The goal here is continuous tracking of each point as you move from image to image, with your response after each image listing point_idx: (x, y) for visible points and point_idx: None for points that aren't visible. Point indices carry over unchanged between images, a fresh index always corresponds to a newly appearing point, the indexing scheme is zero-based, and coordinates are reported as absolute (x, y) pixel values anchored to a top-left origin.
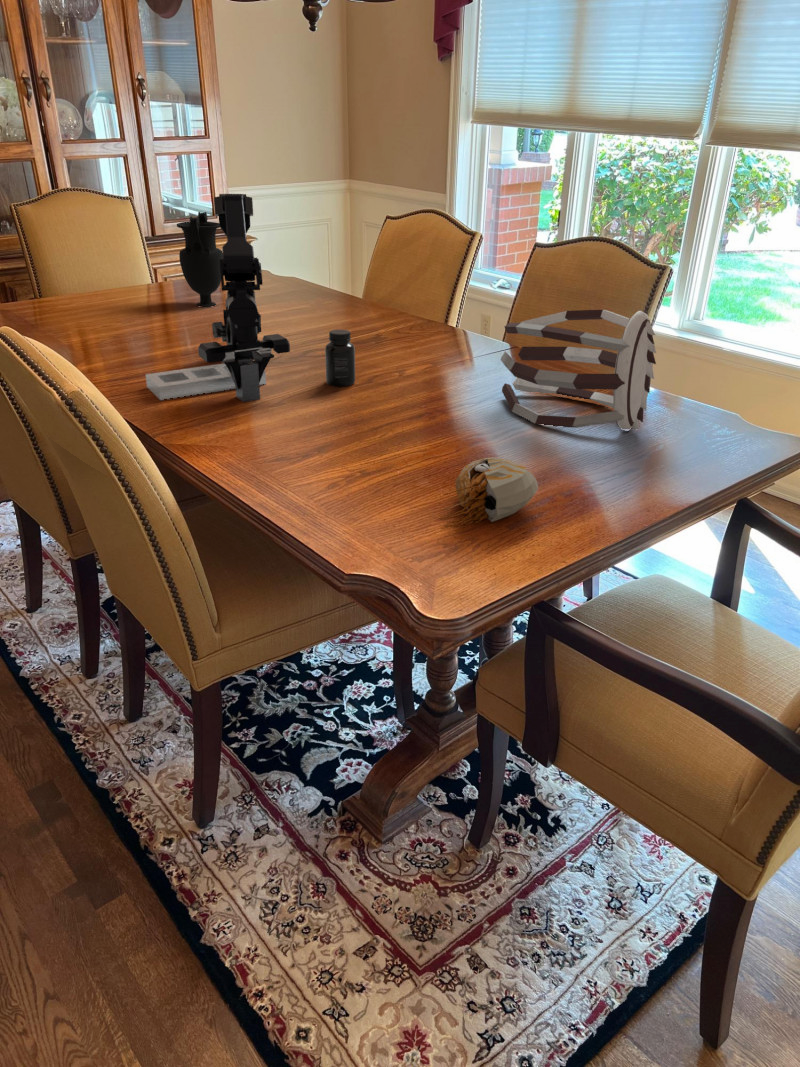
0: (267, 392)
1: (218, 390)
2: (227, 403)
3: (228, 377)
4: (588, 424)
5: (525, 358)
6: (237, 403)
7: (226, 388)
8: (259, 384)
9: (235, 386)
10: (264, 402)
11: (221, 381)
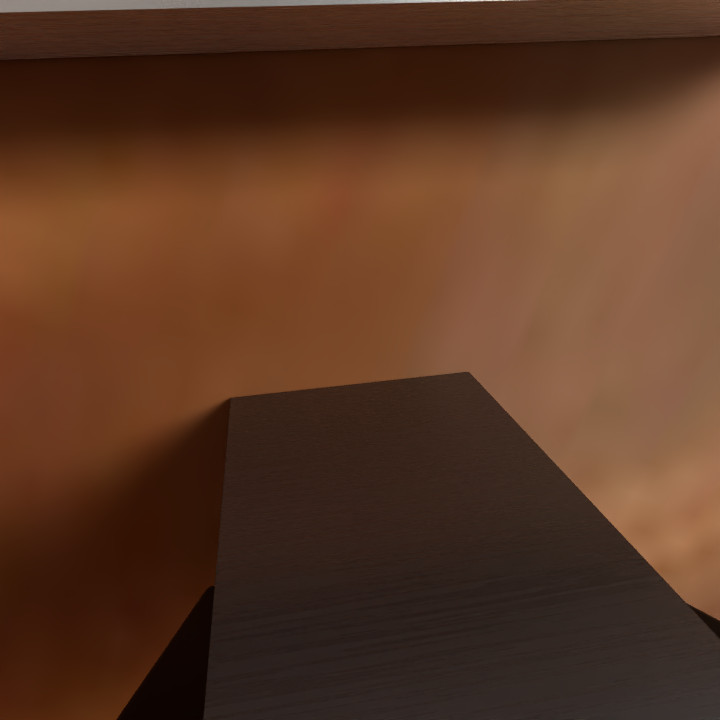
0: (640, 376)
1: (3, 57)
2: (62, 590)
3: (194, 16)
4: None
5: None
6: (183, 618)
7: (157, 51)
8: (713, 33)
9: (225, 473)
10: None
11: (23, 25)
